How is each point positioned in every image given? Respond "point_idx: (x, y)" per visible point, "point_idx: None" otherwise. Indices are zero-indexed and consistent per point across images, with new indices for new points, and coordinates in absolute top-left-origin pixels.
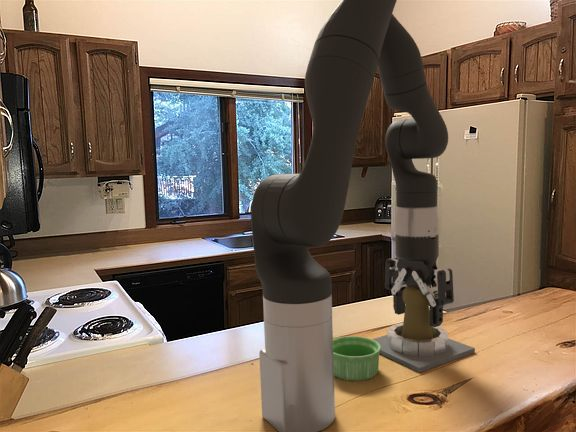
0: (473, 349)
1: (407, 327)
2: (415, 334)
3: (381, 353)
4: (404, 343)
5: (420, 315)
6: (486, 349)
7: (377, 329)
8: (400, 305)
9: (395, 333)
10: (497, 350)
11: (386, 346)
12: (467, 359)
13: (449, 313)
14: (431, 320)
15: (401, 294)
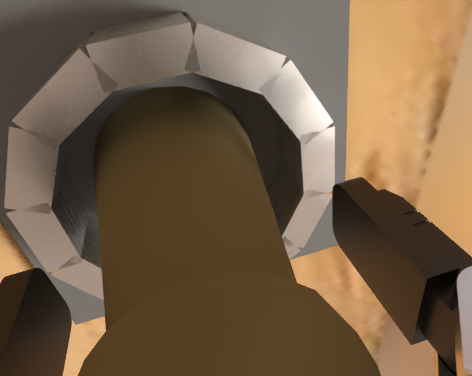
0: (74, 317)
1: (166, 152)
2: (114, 163)
3: None
4: (73, 53)
5: (108, 279)
6: (93, 343)
7: (436, 112)
8: (364, 241)
9: (216, 75)
10: (76, 362)
11: (225, 8)
12: (19, 270)
13: (370, 352)
14: (3, 305)
15: (424, 320)
